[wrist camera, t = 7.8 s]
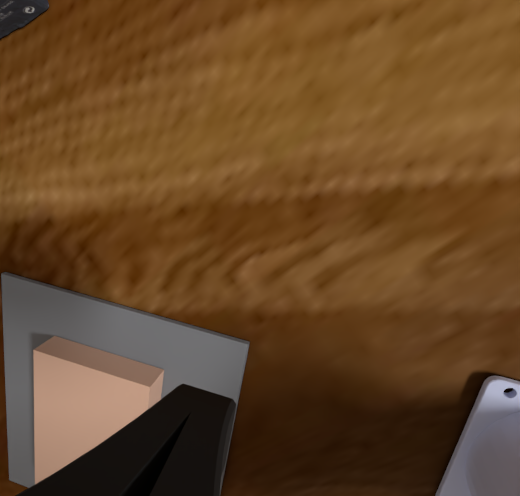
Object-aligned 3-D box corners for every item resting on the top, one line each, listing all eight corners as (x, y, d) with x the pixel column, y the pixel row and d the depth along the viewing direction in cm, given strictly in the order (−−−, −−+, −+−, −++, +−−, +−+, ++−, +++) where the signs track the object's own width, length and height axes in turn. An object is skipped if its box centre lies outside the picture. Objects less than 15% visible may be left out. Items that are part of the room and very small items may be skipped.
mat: (249, 341, 20) (248, 344, 20) (209, 552, 25) (207, 557, 25) (5, 271, 22) (1, 273, 22) (12, 476, 27) (9, 480, 27)
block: (149, 387, 20) (33, 349, 21) (135, 524, 23) (35, 485, 24) (164, 369, 21) (55, 335, 23) (149, 500, 25) (54, 464, 26)
